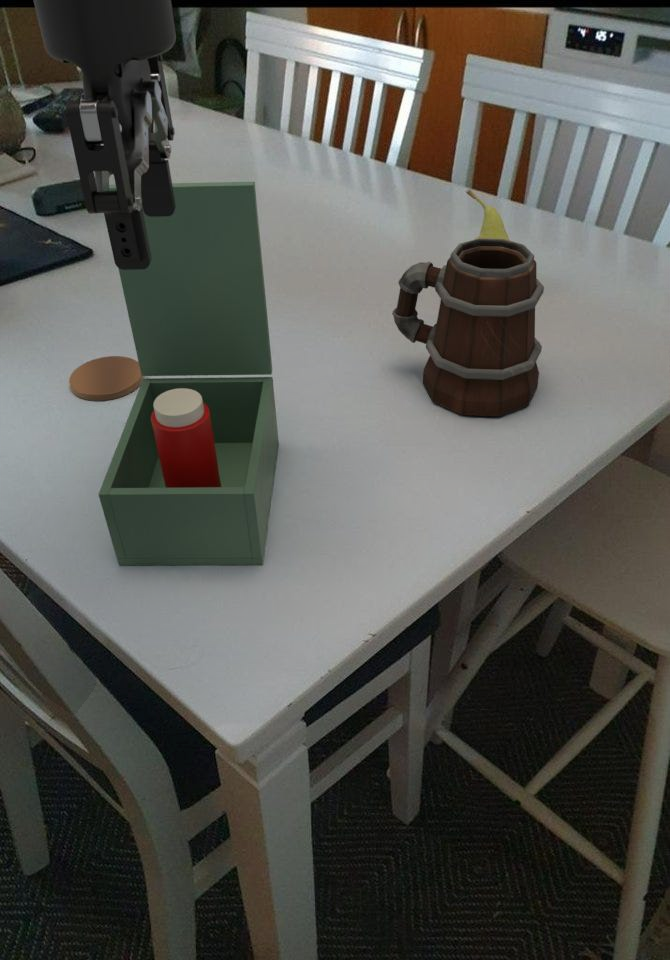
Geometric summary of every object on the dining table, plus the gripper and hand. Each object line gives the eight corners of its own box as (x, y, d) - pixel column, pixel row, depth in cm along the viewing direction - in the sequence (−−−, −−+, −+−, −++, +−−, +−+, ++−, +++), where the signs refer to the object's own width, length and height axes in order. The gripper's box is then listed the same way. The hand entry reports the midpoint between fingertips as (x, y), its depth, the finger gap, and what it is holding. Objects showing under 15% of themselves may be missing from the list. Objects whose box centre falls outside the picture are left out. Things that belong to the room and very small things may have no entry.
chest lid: (253, 184, 63) (260, 163, 67) (100, 188, 64) (115, 166, 67) (271, 374, 74) (276, 347, 78) (141, 376, 75) (152, 348, 79)
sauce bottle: (183, 540, 68) (159, 424, 61) (165, 509, 72) (140, 395, 64) (233, 521, 70) (216, 407, 62) (213, 491, 73) (194, 379, 66)
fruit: (503, 303, 101) (513, 208, 93) (448, 290, 104) (453, 197, 96) (523, 282, 105) (534, 190, 97) (470, 270, 108) (477, 180, 101)
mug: (546, 369, 89) (566, 238, 79) (517, 429, 80) (536, 290, 71) (411, 342, 94) (415, 216, 84) (371, 396, 86) (371, 263, 76)
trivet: (81, 409, 86) (79, 402, 85) (62, 374, 91) (61, 368, 91) (153, 387, 88) (152, 381, 88) (131, 355, 94) (130, 349, 93)
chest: (262, 565, 67) (253, 493, 62) (118, 565, 67) (98, 494, 63) (278, 444, 80) (272, 376, 75) (157, 445, 80) (143, 378, 75)
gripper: (64, -58, 50) (118, 201, 60) (-20, -20, 39) (63, 288, 49) (185, -63, 50) (218, 199, 60) (134, -26, 39) (185, 286, 49)
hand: (148, 239), depth 55 cm, fingers open, 8 cm apart
